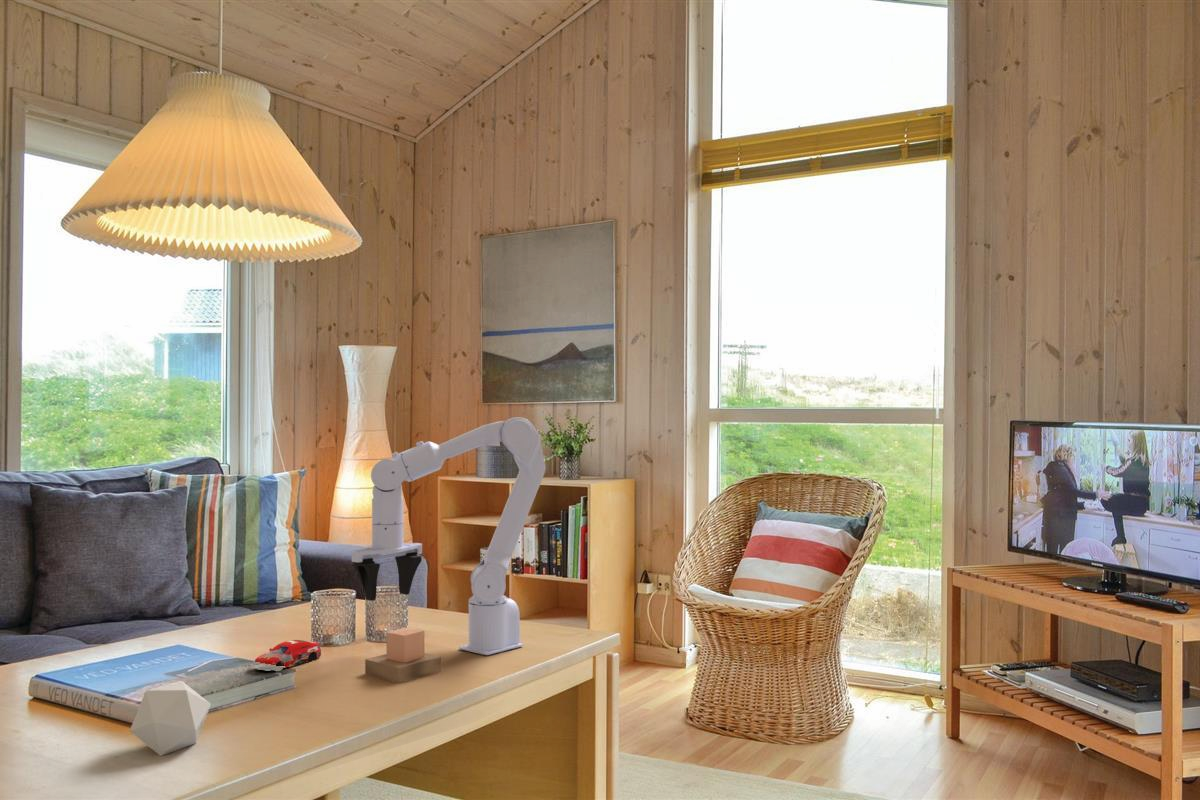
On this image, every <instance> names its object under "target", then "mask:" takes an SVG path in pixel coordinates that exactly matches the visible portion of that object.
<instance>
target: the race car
mask: <svg viewBox="0 0 1200 800" xmlns="http://www.w3.org/2000/svg"><path fill="white" fill-rule="evenodd" d="M321 656H322V649H321V645H320V643H319V642H317V641H309V640H308V641H307V640H300V639H291V640H286V641H283V642H281V643H279V644H277V645H275V646H273V648H271V647H270V648H269V651H268V652H265V653H264V654H261V655H259V656H258V657H256V658H255V659H254V661H255V662H260V663H265V664H271V665H276V666H285V667H289V668H292V667H295V666H299V665H302V664H304V663H311V662H313V661H316V659H319V658H320V657H321Z"/></svg>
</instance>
